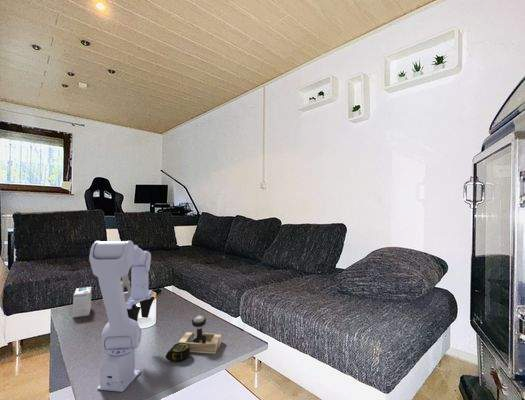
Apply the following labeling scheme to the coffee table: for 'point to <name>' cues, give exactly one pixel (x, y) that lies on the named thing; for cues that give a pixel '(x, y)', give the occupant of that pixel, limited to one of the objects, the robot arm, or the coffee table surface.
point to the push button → (198, 329)
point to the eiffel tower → (125, 283)
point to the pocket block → (208, 347)
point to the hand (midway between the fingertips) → (139, 321)
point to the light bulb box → (82, 302)
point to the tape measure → (178, 352)
